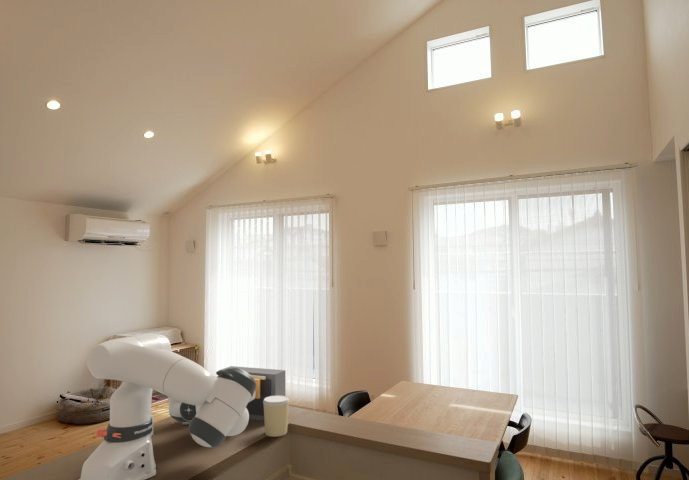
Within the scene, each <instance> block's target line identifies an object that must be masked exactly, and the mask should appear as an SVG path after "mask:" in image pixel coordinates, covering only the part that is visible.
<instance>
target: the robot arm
mask: <svg viewBox="0 0 689 480" xmlns="http://www.w3.org/2000/svg"><path fill="white" fill-rule="evenodd" d="M86 362H87V363H86V364H87V369H88V371H89V373H90V374H91V376H93V377H94V378H95V379H98V380H114V381H119V382H121V384H120V385H119V386H118V387H117V389H115V391H113V393H112V394H111V397H110V400H109V422H108V425H107V427H106V429H101V428H99V429H97V431H96V432H95V435H96V437H99V438H100V437H101V438H103V441H102V442H101V443H100V444H99V445H98V446H97V447H96V448H95V450H94V451H93V452H92V453H91V454H90V455H89V456H88V458H87V459H86V460H85V461H84V463H83V465H82V467H81V472H80V478H79V479H78V480H147V479H150V478H153V477H154V476H156V475H157V469H156V468H157V464H156V461H155V456H154V449H153V439H152V436H151V432H152V426H153V427H154V423H153V424H152V418H151V415H152V399H153V397H152V396H153V390H154V391H156V392H158V393H159V394H162V395H164V396H166V397H168V415H169V416H170V417H171V418H172V419H174V420H175V421H176V422H180V423H182V422H190V421H191V423H190V425H188V433H189V434H190V435H191V437H192V440H193V441H194V442H196V443H197V444H198V445H200V446H202V447H206V448H212V449H214V448H217V447H219V446H220V445H221V444H222V443H223V442H224V441H225V440H226V438H227V437H234V436H238V435H240V434H241V433H242V432H244V431H245V430H246V429H247V426H248V424H249V420H250V419H249V413H248V410H247V408H246V406H247V404H248V403H249V402H250V401H252V400H254V399H255V388H256V383H255V380H254V379H253V378H252V377H251V375H250V374H249V373H247V372H246V371H244V370H241V369H238V368H229V369H226V370H223V371H221V369H219V370H217V371H216V372H215V374H216V375H217V376H214V374H212V373H211V372H210V371H208V370H207V369H206V368H205V367H203V366H202V365H201V364H198V363H197V362H195V361H193V360H192V359H189V358H188V357H185V356H184V355H183V356H182V355H181V354H179V353H176V352H174V351H172V344H171V342H170V340H169V339H168V337H167V336H166V335H164V334H159V333H144V334H137V335H131V336H125V337H120V338H114V339H113V338H112V339H109V340H106V341H103V342H101V343H99V344H96V345H94V346H93V347H92V348H91V349H90V350H89V353H88V355H87V360H86Z"/></svg>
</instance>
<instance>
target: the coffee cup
mask: <svg viewBox="0 0 689 480" xmlns="http://www.w3.org/2000/svg"><path fill="white" fill-rule="evenodd" d="M289 403H290V399H289V397H288V396H286V395H285V396H280V395H277V396H269V397H266V398H265V399H264V401H263V404H264V421H263V422H264V432H265V435H266V436H267V437H272V438H274V437H281V436H284V435H286V434H287V433H288V426H289V425H288V422H289V421H288V420H289V407H290V406H289Z"/></svg>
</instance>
